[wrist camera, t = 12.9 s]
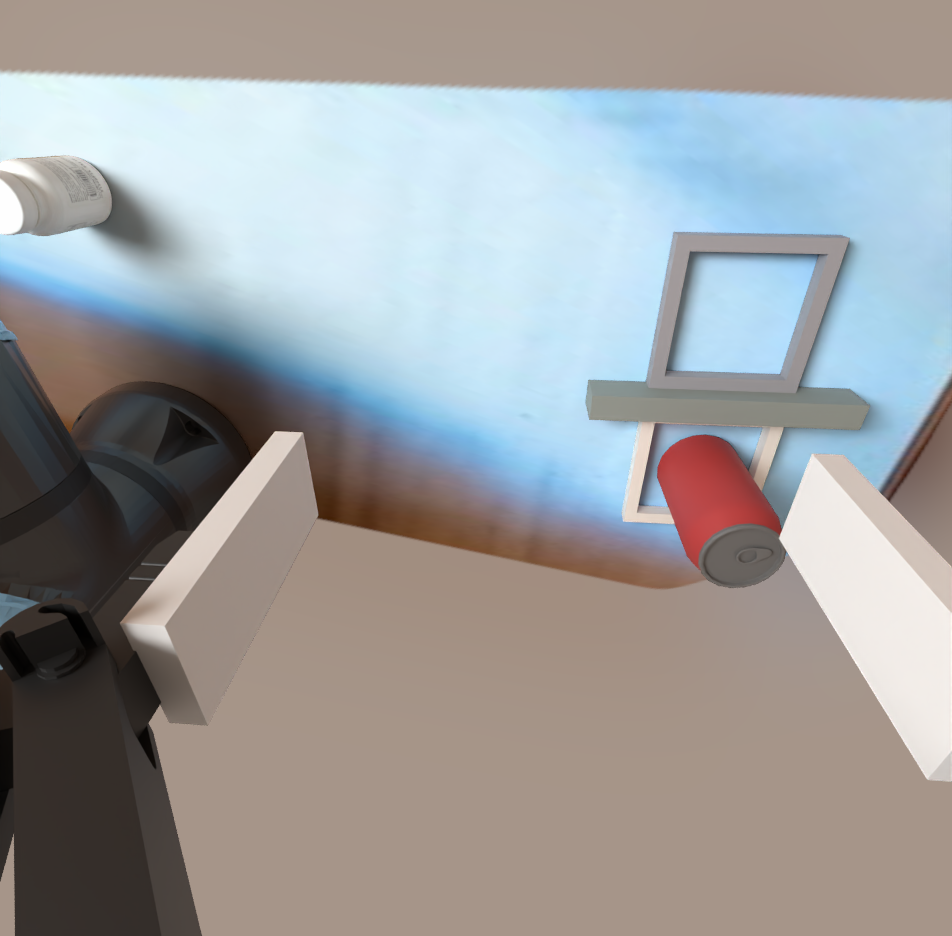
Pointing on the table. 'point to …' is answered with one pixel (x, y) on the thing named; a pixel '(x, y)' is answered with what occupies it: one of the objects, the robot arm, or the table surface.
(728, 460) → the beer can
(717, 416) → the double frame with crossbar
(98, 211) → the pill bottle
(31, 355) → the table surface
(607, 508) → the table surface
